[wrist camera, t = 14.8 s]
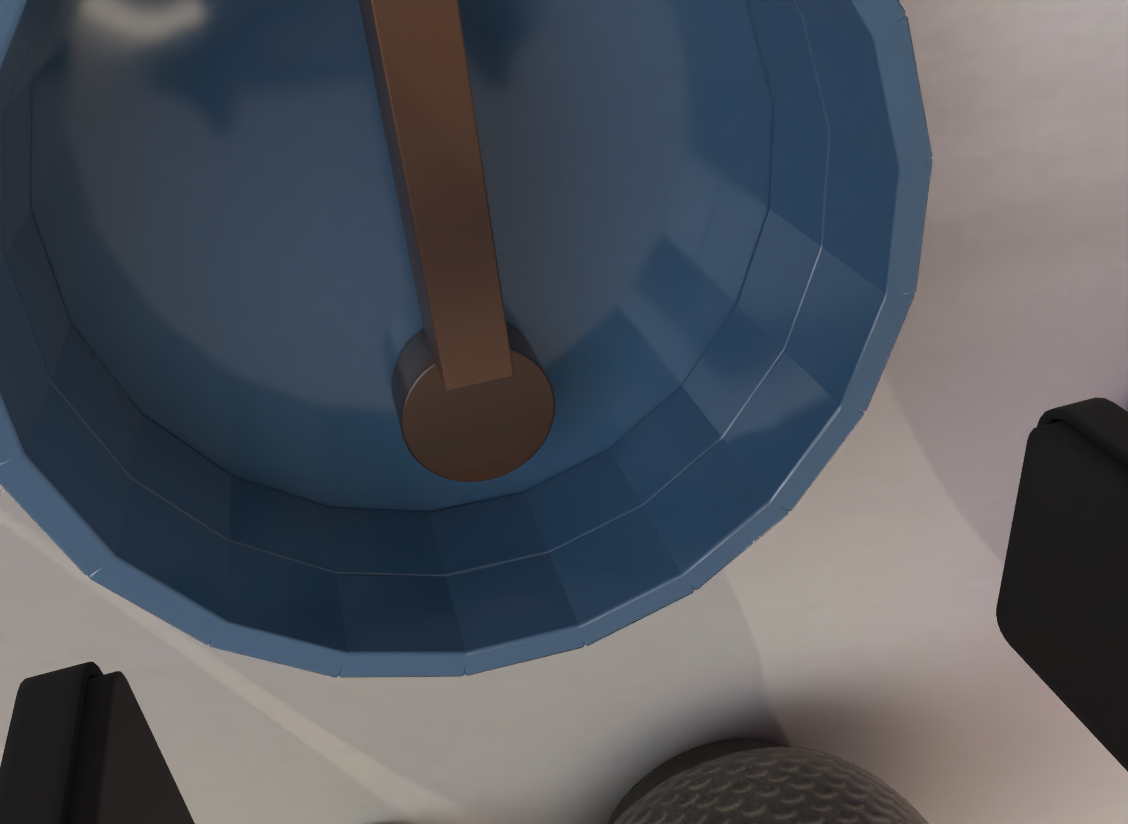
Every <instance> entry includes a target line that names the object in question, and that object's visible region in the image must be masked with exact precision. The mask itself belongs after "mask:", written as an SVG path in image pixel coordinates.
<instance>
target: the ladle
mask: <svg viewBox="0 0 1128 824" xmlns="http://www.w3.org/2000/svg"><path fill="white" fill-rule="evenodd" d="M358 1H359V6H360V11H361V16H362V21H363V26H364V31H365V36H366V41H367V46H368V51H369V56H370V61H371V66H372V71H373V76H374V81H375V86H376V91H377V96H378V101H379V106H380V111H381V116H382V121H383V126H384V131H385V136H386V141H387V146H388V151H389V156H390V162H391V167H392V172H393V177H394V182H395V187H396V192H397V197H398V202H399V207H400V212H401V217H402V222H403V227H404V232H405V237H406V242H407V247H408V252H409V257H410V262H411V267H412V272H413V277H414V282H415V287H416V292H417V297H418V302H419V307H420V312H421V317H422V322H423V327H424V329H423V330H421V331H420V332H419V333H418V334H416V335H415V336H414V337H413V338H412V339H411V340H410V341H409V343H408V344H407V345H406V346H405V347H404V349H403V351H402V352H401V354H400V355H399V357H398V360H397V362H396V364H395V367H394V371H393V375H392V396H393V401H394V405H395V409H396V413H397V416H398V420H399V424H400V428H401V432H402V435H403V438H404V442H405V444H406V446H407V448H408V450H409V451H410V453H411V454H412V456H413V457H414V458H415V459H416V460H417V461H418V462H419V464H421V465H422V466H423V467H424V468H426V469H427V470H429V471H431V472H432V473H434V474H436V475H438V476H441V477H443V478H446V479H450V480H454V481H460V482H480V481H486V480H491V479H494V478H498V477H501V476H503V475H506V474H508V473H510V472H512V471H514V470H515V469H517V468H519V467H520V466H522V465H523V464H524V463H526V462H527V461H528V460H529V459H530V458H532V457H533V456H534V454H535V453H536V452H537V451H538V450H539V449H540V447H541V446H542V445H543V443H544V442H545V440H546V438H547V436H548V434H549V432H550V430H551V427H552V424H553V420H554V415H555V396H554V392H553V388H552V385H551V383H550V380H549V379H548V377H547V375H546V373H545V371H544V369H543V368H542V366H541V364H540V362H539V360H538V359H537V357H536V355H535V353H534V351H533V349H532V348H531V346H530V344H529V342H528V341H527V340H526V338H525V337H524V336H523V335H522V334H521V333H520V332H519V331H518V330H517V329H516V328H514V327H513V326H511V325H510V324H508V323H506V317H505V310H504V304H503V297H502V290H501V284H500V277H499V270H498V264H497V257H496V250H495V244H494V237H493V230H492V224H491V217H490V210H489V204H488V197H487V190H486V184H485V177H484V170H483V164H482V157H481V151H480V144H479V137H478V131H477V124H476V117H475V111H474V104H473V97H472V91H471V84H470V77H469V71H468V64H467V57H466V51H465V44H464V37H463V31H462V24H461V17H460V11H459V4H458V0H358Z"/></svg>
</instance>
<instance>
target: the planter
mask: <svg viewBox="0 0 1128 824" xmlns="http://www.w3.org/2000/svg"><path fill="white" fill-rule="evenodd" d="M608 824H929V823H928V822H927V821H926V820H925V819H924V818H923V817H922V816H921V815H920V814H919V813H918V811H917V810H916V809H915V808H914V807H913V806H912V805H911V804H910V803H909V802H908V801H907V800H906V799H905V798H903V797H902V796H901V795H900V794H898V793H897V792H896V791H895V790H894V789H892V788H891V787H890V786H889V785H887V784H886V783H885V782H883V781H882V780H881V779H879V778H878V777H876V776H875V775H873V774H872V773H871V772H869V771H868V770H866V769H864V768H862V767H860V766H858V765H856V764H854V763H851V762H849V761H846V760H844V759H841V758H839V757H836V756H833V755H831V754H828V753H824V752H819V751H814V750H809V749H804V748H793V747H783V746H780V745H778V744H775V743H771V742H766V741H761V740H742V739H741V740H729V741H722V742H718V743H713V744H708V745H705V746H702V747H699V748H696V749H693V750H690V751H688V752H686V753H684V754H681V755H679V756H677V757H675V758H673V759H671V760H670V761H668V762H666V763H664V764H662V765H661V766H659V767H658V768H656V769H655V770H654V771H652V772H651V773H649V774H648V775H647V776H645V777H644V778H643V779H642V780H641V781H640V782H639V783H638V784H636V785H635V786H634V787H633V788H632V789H631V790H630V792H629V793H628V794H627V795H626V796H625V797H624V798H623V800H622V801H621V802H620V804H619V805H618V807H617V808H616V810H615V811H614V813H613V814H612V816H611V819H610V821H609V823H608Z"/></svg>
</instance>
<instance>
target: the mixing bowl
mask: <svg viewBox="0 0 1128 824" xmlns="http://www.w3.org/2000/svg"><path fill="white" fill-rule="evenodd" d="M458 4H459V11H460V17H461V24H462V31H463V37H464V44H465V51H466V57H467V64H468V71H469V77H470V84H471V91H472V97H473V104H474V111H475V117H476V124H477V131H478V137H479V144H480V151H481V157H482V164H483V170H484V177H485V184H486V190H487V197H488V204H489V210H490V217H491V224H492V230H493V237H494V244H495V250H496V257H497V264H498V270H499V277H500V284H501V290H502V297H503V304H504V310H505V317H506V323H508V324H510V325H511V326H513V327H514V328H516V329H517V330H518V331H519V332H520V333H521V334H522V335H523V336H524V337H525V338H526V340H527V341H528V342H529V344H530V346H531V348H532V349H533V351H534V353H535V355H536V357H537V359H538V360H539V362H540V364H541V366H542V368H543V369H544V371H545V373H546V375H547V377H548V379H549V380H550V383H551V385H552V388H553V392H554V396H555V415H554V420H553V424H552V427H551V430H550V432H549V434H548V436H547V438H546V440H545V442H544V443H543V445H542V446H541V447H540V449H539V450H538V451H537V452H536V453H535V454H534V456H533V457H532V458H530V459H529V460H528V461H527V462H526V463H524V464H523V465H522V466H520V467H519V468H517V469H515V470H514V471H512V472H510V473H508V474H506V475H503V476H501V477H498V478H494V479H491V480H486V481H480V482H460V481H454V480H450V479H446V478H443V477H441V476H438V475H436V474H434V473H432V472H431V471H429V470H427V469H426V468H424V467H423V466H422V465H421V464H419V462H418V461H417V460H416V459H415V458H414V457H413V456H412V454H411V453H410V451H409V450H408V448H407V446H406V444H405V442H404V438H403V435H402V432H401V428H400V424H399V420H398V416H397V413H396V409H395V405H394V401H393V396H392V375H393V371H394V367H395V364H396V362H397V360H398V357H399V355H400V354H401V352H402V351H403V349H404V347H405V346H406V345H407V344H408V343H409V341H410V340H411V339H412V338H413V337H414V336H415V335H416V334H418V333H419V332H420V331H421V330H423V329H424V327H423V322H422V317H421V312H420V307H419V302H418V297H417V292H416V287H415V282H414V277H413V272H412V267H411V262H410V257H409V252H408V247H407V242H406V237H405V232H404V227H403V222H402V217H401V212H400V207H399V202H398V197H397V192H396V187H395V182H394V177H393V172H392V167H391V162H390V156H389V151H388V146H387V141H386V136H385V131H384V126H383V121H382V116H381V111H380V106H379V101H378V96H377V91H376V86H375V81H374V76H373V71H372V66H371V61H370V56H369V51H368V46H367V41H366V36H365V31H364V26H363V21H362V16H361V11H360V6H359V1H358V0H0V484H1V485H2V487H3V488H4V489H5V490H6V491H7V492H8V493H9V494H10V495H11V496H12V497H13V498H14V499H15V500H16V502H17V503H18V504H19V505H20V506H21V507H22V508H23V509H24V510H25V511H26V512H27V513H28V514H29V515H30V517H31V518H32V519H33V520H34V521H35V522H36V523H37V524H38V525H39V526H40V527H41V528H42V529H43V530H44V532H45V533H46V534H47V535H48V536H49V537H50V538H51V539H52V540H53V541H54V542H55V543H56V544H57V545H58V547H59V548H60V549H61V550H62V551H63V552H64V553H65V554H66V555H67V556H68V557H69V558H70V559H71V560H72V561H73V563H74V564H75V565H76V566H77V567H78V568H79V569H80V570H81V571H82V572H83V573H84V574H85V575H88V576H89V578H90V579H91V580H93V581H95V582H96V583H98V584H100V585H102V586H103V587H105V588H107V589H109V590H111V591H112V592H114V593H116V594H118V595H119V596H121V597H123V598H125V599H126V600H128V601H130V602H132V603H134V604H135V605H137V606H139V607H141V608H142V609H144V610H146V611H148V612H149V613H151V614H153V615H155V616H157V617H158V618H160V619H162V620H164V621H165V622H167V623H169V624H171V625H172V626H174V627H176V628H178V629H179V630H181V631H183V632H185V633H187V634H188V635H190V636H192V637H194V638H195V639H197V640H199V641H201V642H202V643H204V644H207V645H208V644H209V646H210V647H213V648H217V649H221V650H225V651H229V652H233V653H237V654H241V655H245V656H250V657H254V658H258V659H262V660H266V661H270V662H274V663H278V664H282V665H286V666H290V667H294V668H298V669H302V670H306V671H311V672H315V673H319V674H323V675H327V676H331V677H338V676H339V677H456V676H464V674H466V675H473V674H477V673H481V672H485V671H489V670H493V669H497V668H501V667H505V666H509V665H513V664H517V663H521V662H525V661H530V660H534V659H538V658H542V657H546V656H550V655H554V654H558V653H562V652H566V651H570V650H574V649H578V648H582V647H584V645H586V646H588V645H590V644H592V643H594V642H596V641H598V640H600V639H602V638H604V637H606V636H608V635H610V634H612V633H614V632H616V631H618V630H620V629H622V628H624V627H626V626H628V625H630V624H632V623H634V622H636V621H638V620H640V619H642V618H644V617H646V616H648V615H650V614H652V613H654V612H656V611H658V610H660V609H662V608H664V607H666V606H668V605H670V604H672V603H674V602H676V601H678V600H680V599H682V598H683V597H685V596H687V595H689V594H691V593H693V592H694V589H695V590H697V589H699V588H700V587H701V586H702V585H704V584H705V583H706V582H707V581H708V580H710V579H711V578H712V577H713V576H714V575H716V574H717V573H718V572H719V571H720V570H722V569H723V568H724V567H725V566H726V565H728V564H729V563H730V562H731V561H732V560H734V559H735V558H736V557H737V556H738V555H740V554H741V553H742V552H743V551H744V550H746V549H747V548H748V547H749V546H751V545H752V544H753V543H754V542H755V541H757V540H758V539H759V538H760V537H761V536H763V535H764V534H765V533H766V532H767V531H769V530H770V529H771V528H772V527H773V526H775V525H776V524H777V523H778V522H779V521H781V520H782V519H783V518H784V517H785V516H787V514H788V511H791V510H793V508H794V507H795V506H796V504H797V503H798V502H799V500H800V499H801V498H802V496H803V495H804V494H805V492H806V491H807V490H808V488H809V487H810V486H811V484H812V483H813V482H814V480H815V479H816V478H817V476H818V475H819V474H820V472H821V471H822V470H823V468H824V467H825V466H826V464H827V463H828V462H829V460H830V459H831V458H832V456H833V455H834V454H835V452H836V451H837V450H838V448H839V447H840V446H841V444H842V443H843V442H844V440H845V439H846V438H847V436H848V435H849V434H850V432H851V431H852V430H853V428H854V427H855V426H856V424H857V423H858V422H859V420H860V419H861V418H862V416H863V414H864V412H865V411H866V410H867V408H868V406H869V403H870V401H871V398H872V396H873V394H874V391H875V389H876V387H877V384H878V382H879V379H880V377H881V375H882V372H883V370H884V367H885V365H886V363H887V360H888V358H889V355H890V353H891V351H892V348H893V346H894V343H895V341H896V339H897V336H898V334H899V332H900V329H901V327H902V324H903V322H904V320H905V317H906V315H907V312H908V310H909V308H910V305H911V303H912V300H913V298H914V293H915V292H916V287H917V279H918V271H919V263H920V255H921V247H922V239H923V231H924V223H925V215H926V207H927V199H928V191H929V183H930V175H931V168H932V159H931V158H932V152H931V146H930V141H929V135H928V129H927V124H926V118H925V112H924V107H923V101H922V96H921V90H920V84H919V79H918V73H917V68H916V62H915V56H914V51H913V45H912V39H911V34H910V28H909V23H908V18H907V16H906V15H905V11H904V9H903V7H902V5H901V4H900V2H899V0H458Z"/></svg>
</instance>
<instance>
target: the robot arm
mask: <svg viewBox="0 0 1128 824" xmlns="http://www.w3.org/2000/svg"><path fill="white" fill-rule="evenodd" d="M996 616H997V622H998V625H999V628H1000V631H1001V633H1002V634H1003V636H1004V638H1005V639H1006V641H1007V642H1008V643H1009V645H1010V646H1011V647H1012V648H1013V649H1014V650H1015V651H1016V652H1017V653H1018V654H1019V655H1020V656H1021V657H1022V659H1023V660H1024V661H1025V662H1026V663H1027V664H1028V665H1029V666H1030V667H1031V668H1032V669H1033V670H1034V671H1035V673H1036V674H1037V675H1038V676H1039V677H1040V678H1041V679H1042V680H1043V681H1044V682H1045V683H1046V684H1047V685H1048V686H1049V688H1050V689H1051V690H1052V691H1053V692H1054V693H1055V694H1056V695H1057V696H1058V697H1059V698H1060V699H1061V700H1062V701H1063V703H1064V704H1065V705H1066V706H1067V707H1068V708H1069V709H1070V710H1071V711H1072V712H1073V713H1074V714H1075V715H1076V717H1077V718H1078V719H1079V720H1080V721H1081V722H1082V723H1083V724H1084V725H1085V726H1086V727H1087V728H1088V729H1089V730H1090V732H1091V733H1092V734H1093V735H1094V736H1095V737H1096V738H1097V739H1098V740H1099V741H1100V742H1101V743H1102V744H1103V746H1104V747H1105V748H1106V749H1107V750H1108V751H1109V752H1110V753H1111V754H1112V755H1113V756H1114V757H1115V758H1116V759H1117V761H1118V762H1119V763H1120V764H1121V765H1122V766H1123V767H1124V768H1125V769H1126V770H1127V771H1128V412H1127V411H1125V410H1124V409H1122V408H1121V407H1120V406H1118V405H1117V404H1115V403H1114V402H1111V401H1109V400H1107V399H1105V398H1092V399H1088V400H1084V401H1080V402H1077V403H1073V404H1069V405H1065V406H1061V407H1058V408H1054V409H1051V410H1049V411H1046V412H1045V413H1044V414H1043V415H1042V416H1041V418H1040V420H1039V422H1038V425H1037V427H1036V428H1034V429H1033V430H1032V431H1031V432H1030V434H1029V437H1028V440H1027V446H1026V451H1025V457H1024V462H1023V467H1022V473H1021V478H1020V484H1019V489H1018V495H1017V500H1016V505H1015V511H1014V516H1013V522H1012V527H1011V533H1010V538H1009V543H1008V549H1007V554H1006V560H1005V565H1004V570H1003V576H1002V581H1001V587H1000V592H999V598H998V603H997V609H996ZM0 824H195V823H194V821H193V819H192V817H191V815H190V813H189V811H188V808H187V806H186V804H185V802H184V800H183V798H182V796H181V794H180V791H179V789H178V787H177V785H176V783H175V781H174V779H173V777H172V774H171V772H170V770H169V768H168V766H167V764H166V762H165V760H164V758H163V755H162V753H161V751H160V749H159V747H158V745H157V743H156V741H155V738H154V736H153V734H152V732H151V730H150V728H149V726H148V724H147V721H146V719H145V717H144V715H143V713H142V711H141V709H140V707H139V704H138V702H137V700H136V698H135V696H134V694H133V692H132V690H131V688H130V685H129V683H128V681H127V679H126V678H125V676H124V674H122V673H121V672H120V671H117V672H113V673H109V674H105V675H103V673H102V672H101V670H100V668H99V667H98V666H97V665H96V664H95V663H94V662H87V663H83V664H79V665H76V666H72V667H68V668H64V669H60V670H57V671H53V672H49V673H45V674H41V675H38V676H34V677H30V678H26V679H25V680H24V681H23V682H22V683H21V684H20V687H19V689H18V692H17V696H16V700H15V705H14V709H13V714H12V718H11V723H10V727H9V731H8V736H7V740H6V745H5V749H4V753H3V758H2V762H1V767H0Z"/></svg>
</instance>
